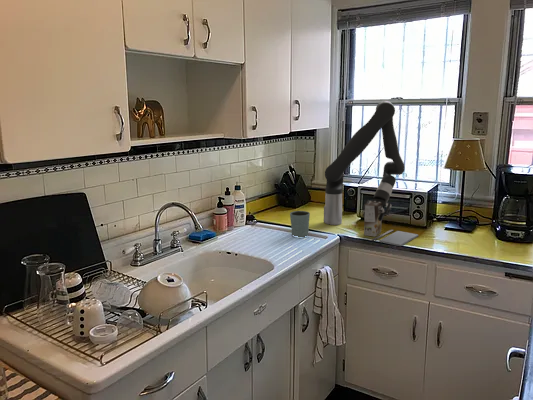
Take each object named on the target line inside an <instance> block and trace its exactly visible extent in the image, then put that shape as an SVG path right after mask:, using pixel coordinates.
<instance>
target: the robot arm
mask: <svg viewBox="0 0 533 400" xmlns="http://www.w3.org/2000/svg"><path fill="white" fill-rule="evenodd" d="M395 113H396V108H395V105H393V103H392V102H391V101H389V100H381V101H379V102H378V103H377V105H376V107H375V111H374V113H373V115H372V116H371V117H370V118H369V120H368V121H367V122H366V123H365V124H364V125H363V126H362V127H360V128H359V129H358V130H357V131H356V132H355V133H354V134H353V135H352V137H351V138H350V139H349V140H348V142H347V143H346V145H345V146H344V147H343V148H342V150H341V152H340V154H339V155H338V156H337V157H336V158H335V160H333V162H331V163H330V164H329V165H328V166H327V167H326V168H325V171H324V177H325V180H326V184H325V190H324V191H325V198H324V199H325V200H324V201H325V202H324V203H325V205H324V206H323V223H325V224H326V225H329V224H330V225H331V226H337V225H341V224H342V223H343V219H342V218H343V188H344V173H345V171H346V170H347V168H348V167H349V166H350V165H351V164H352V162H354V161H355V160H356V159H357V158H358V157H359V156H360V155H361V154H362V153H363V152H364V150H365V149H366V148H367V147H368V146H369V145H370V144H371V142H372V141H373V139H374V138H375V137H376V136H377V134H378V133H379V132H380V130H381V134H382V141H383V142H382V143H383V149H384V155H385V156H384V157H385V158H387V159H390V160H391V161H387V162H386V163H385V164H384V166H383V173H382V177H381V181H380V183H379V185H378V186H377V188H376V191H375V193H374V195H373V197H372V199H371V200H369V199H366V200H365V201H364V204H363V206H362V207H361V208H362V210H363V211H364V212H363V213H362V216H363V218H364V219H365V204H367V203H369V202H371V201H372V202H379V203H381V202H382V205H381V208H380V209H381V212H382V213H381V214H380V216H379V218H378V220H379V221H381V220H382V221H383V220H384V217H385V216H386V215H387V216H389V215H390V213H391V211H392V207H393V206H392V204H391V202H388V201H389V199H390V197H391V196H392V195H391V194H392V193H393V188H395V187H394V186H395V184H396V182H397V180H396V177H395V176H398V175H400V176H401V175H403V173H404V172H405V163H404V161H403V159H402V157H401V155H400V152H399V146H398V144H399V143H398V140H397V139H398V138H397V136H396V131H395V127H394V115H395Z"/></svg>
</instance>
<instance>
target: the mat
mask: <svg viewBox="0 0 533 400" xmlns="http://www.w3.org/2000/svg"><path fill="white" fill-rule="evenodd" d="M418 237H419V234H417V233H412V232H407V231H401V230H396V231H395V232H394V231H393V232H392V233H391V234H388V235H387V236H385V237H383V238H381V239H379V243H382V242H383V243H384V244H388V245H391V246H398V247H402V246H404V245H405V244H408V243H409V242H410V241H412V240H414V239H416V238H418Z"/></svg>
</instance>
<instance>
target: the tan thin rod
mask: <svg viewBox="0 0 533 400" xmlns="http://www.w3.org/2000/svg"><path fill="white" fill-rule="evenodd" d="M393 232H394V229H389V230H387V231H386V232H384V233H382V234H381V233H380V235H379V234H378V235H377V236H376V237H374V238H371V239H370V242H375V241H376V239H377V240H380V238H381V239H382V237H383V238H384V236H385V237H386V235H387V236H388V235H389V234H390V233H393ZM374 240H375V241H374Z"/></svg>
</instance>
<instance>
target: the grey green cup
mask: <svg viewBox="0 0 533 400" xmlns="http://www.w3.org/2000/svg"><path fill="white" fill-rule="evenodd" d="M310 215H311V213H310V212H309V211H306V210H296V211H295V210H294V211H291V212H290V213H289V217H290V218H289V219H290V228H291V236H292V235H294V236H298V237H305V236H307V235H308V236H309V234H308V232H309V230H310V229H309V227H310V218H311V217H310ZM309 233H310V232H309Z"/></svg>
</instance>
